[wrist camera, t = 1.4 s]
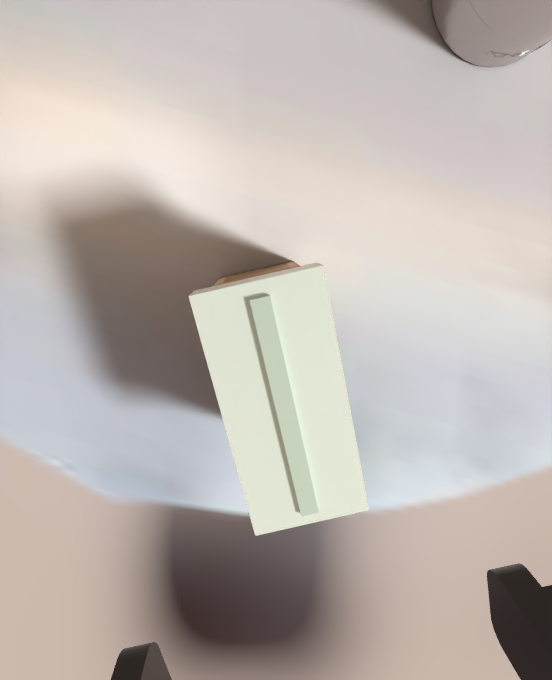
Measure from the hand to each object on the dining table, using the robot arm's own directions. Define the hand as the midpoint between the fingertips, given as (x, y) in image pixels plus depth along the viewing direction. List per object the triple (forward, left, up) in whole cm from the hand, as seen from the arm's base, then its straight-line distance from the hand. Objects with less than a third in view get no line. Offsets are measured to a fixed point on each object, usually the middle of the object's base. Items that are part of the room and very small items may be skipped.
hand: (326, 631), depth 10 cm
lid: (0, 0, -14) cm, 14 cm away
